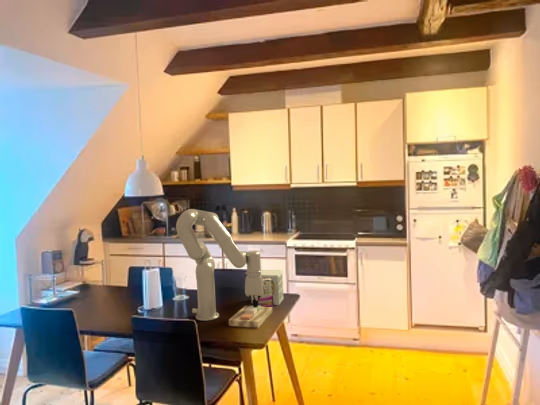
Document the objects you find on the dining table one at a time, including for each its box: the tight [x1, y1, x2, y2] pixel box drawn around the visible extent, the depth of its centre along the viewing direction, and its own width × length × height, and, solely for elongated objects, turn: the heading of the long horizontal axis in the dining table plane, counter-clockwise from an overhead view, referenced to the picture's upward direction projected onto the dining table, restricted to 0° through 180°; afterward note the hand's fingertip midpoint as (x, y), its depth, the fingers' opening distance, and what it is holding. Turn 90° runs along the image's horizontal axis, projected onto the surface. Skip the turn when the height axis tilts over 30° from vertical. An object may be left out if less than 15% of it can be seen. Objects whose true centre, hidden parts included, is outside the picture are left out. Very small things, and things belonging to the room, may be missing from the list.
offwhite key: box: [245, 307, 257, 316], centre depth 237 cm, size 5×5×3 cm
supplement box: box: [250, 269, 284, 306], centre depth 267 cm, size 17×13×18 cm
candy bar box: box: [255, 278, 274, 308], centre depth 256 cm, size 11×5×16 cm, turn 105°
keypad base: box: [228, 305, 273, 329], centre depth 237 cm, size 16×24×3 cm, turn 162°
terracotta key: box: [240, 313, 253, 320], centre depth 231 cm, size 5×5×3 cm
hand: (255, 306), depth 244 cm, fingers closed
